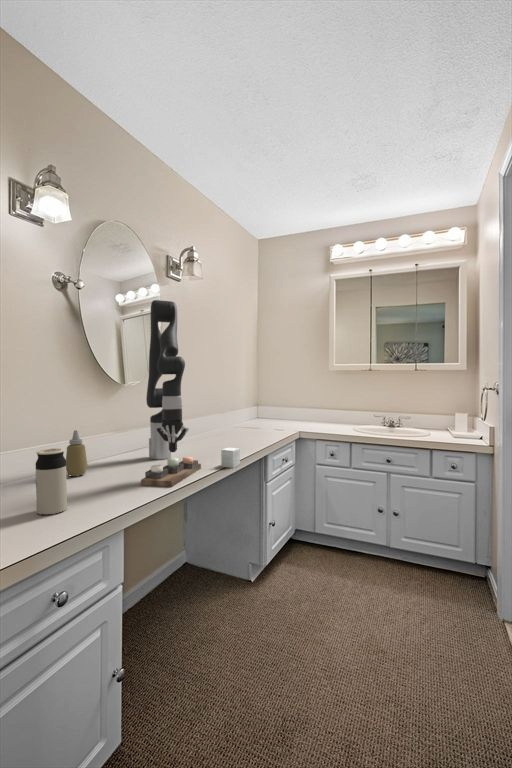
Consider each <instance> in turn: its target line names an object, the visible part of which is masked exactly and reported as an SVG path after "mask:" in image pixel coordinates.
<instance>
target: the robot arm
mask: <svg viewBox="0 0 512 768" xmlns="http://www.w3.org/2000/svg"><path fill="white" fill-rule="evenodd" d="M150 304H151V305H150V341H149V352H148V353H149V355H148V381H147V387H146V388H147V391H146V405H147V407H148V408H150V409H158V408H159V409H160V408H162V409H161V411H159V412H158V413H155V414H152V415H151V416H150V420H149V421H150V422H149V425H150V428H149V429H150V438H148V459H152V460H167V459H168V458H172V453H175V452H177V450H178V442H180V441H182V440H183V438H184V437H185V436H186V434H187V433H188V431H189V428H188V427H186V426H185V425H184V422H183V400H182V380H183V375H184V371H185V368H186V361H185V359H184V358H183V357H182V356H179V355H178V354H179V346H178V306H177V304H176V302H174V301H170V300H169V301H168V300H157V299H155V300H152V301H151V303H150ZM159 323H169V324H168V325H167V326H166V328H165V329H164V330H163V332H161V330H160V327H159ZM163 375H175V377H174V378H173V379H169V380H164V381H163V382H162V387H160V388H159V387H158V388H157V384H158V382H159V380H160V378H161V377H162V376H163Z"/></svg>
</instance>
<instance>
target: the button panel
mask: <svg viewBox="0 0 512 768" xmlns="http://www.w3.org/2000/svg"><path fill="white" fill-rule="evenodd" d="M201 469H202V463H199V460H197V459H195V460H194V459H193V463H183V460H181V461H179V467H176V468H170V467H167V465H163V471H162V472H160V473H158V472H151V469H149V470H147V471H145V472H144V473H145V474H144V475H145V476H144V477H143V478H142V479H141V480H140V484H141V486H150V487H151V486H153V487H169V488H173V487H174V486H177V484H179V483H180V482H182V481H184V480H185V479H187V478H188V477H190V476H192V475H193V474H194V473H197V471H200V470H201ZM183 479H184V480H183Z"/></svg>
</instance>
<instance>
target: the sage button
mask: <svg viewBox="0 0 512 768" xmlns="http://www.w3.org/2000/svg"><path fill="white" fill-rule="evenodd" d="M166 460H167V461H166V463H167V467H170V468H176V467H179V462H180V459H179V457H170V458H167V459H166Z"/></svg>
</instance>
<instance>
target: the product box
mask: <svg viewBox="0 0 512 768" xmlns="http://www.w3.org/2000/svg"><path fill="white" fill-rule="evenodd" d="M240 449H241V448H238V447H225V448H223V449H221V451H220V453H221V458H220V459H221V462H220V463H221V466H220V467H222V468H230V469H231V468H233V469H234V468H236V467H238V466H240V465H241V455H240V451H241V450H240Z"/></svg>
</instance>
